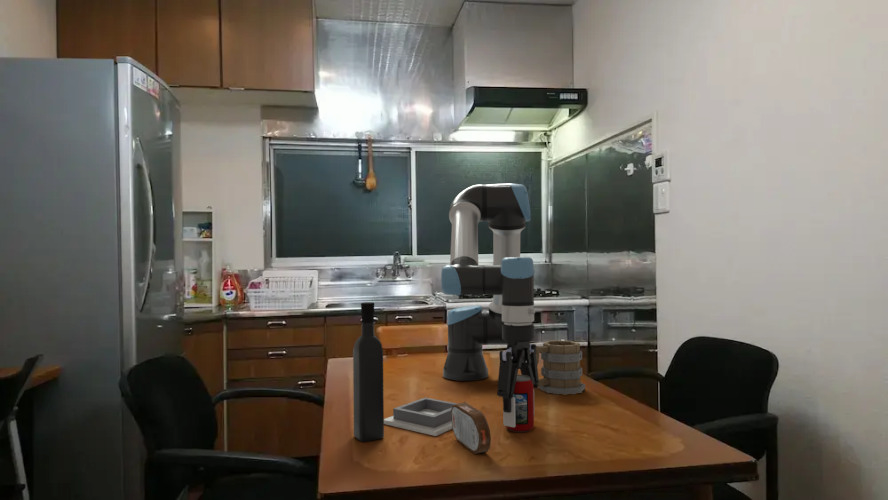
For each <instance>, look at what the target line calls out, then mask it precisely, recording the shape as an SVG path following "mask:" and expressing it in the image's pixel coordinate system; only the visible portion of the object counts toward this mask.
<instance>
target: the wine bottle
mask: <svg viewBox="0 0 888 500" xmlns="http://www.w3.org/2000/svg"><path fill="white" fill-rule="evenodd" d="M360 313H361V335H360V336H359V337H357V339H355V342H354V345H353V349H352V350H353V351H352V363H353V364H352V366H353V367H352V370H353V373H352V374H353V377H352V383H353V384H352V386H353V387H352V388H353V394H352V395H353V399H352V400H353V436H354V437H355V438H356V439H357V440H358V441H360V442H362V443H365V442H371V441H376V440H377V441H378V440H382V439H384V437H385V426H384V425H385V424H384V419H385V416H384V411H385V410H384V408H385V407H384V405H385V403H384V348H383V345H382V344H383V343H382V342H381V341H380V339H379V338H378V337H377V336H376V334H375V302H370V301H369V302H368V301H367V302H360Z"/></svg>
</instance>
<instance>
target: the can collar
mask: <svg viewBox="0 0 888 500" xmlns="http://www.w3.org/2000/svg"><path fill="white" fill-rule="evenodd" d="M455 404H459V403H457V402H452V401H445V400H440V399H435V398H429V397H423V398H420V399H417V400H413V401H411V402H408V403H406V404H402V405H399V406H397V407H394V408H393V410H392V411H393V412H392V413H393V415H391V416H389V417H385V418H384V425H388V426H391V427H396V428H399V429H403V430H408V431H413V432H417V433H421V434H425V435H430V436H433V437H437V436H439V435H442V434H444V433H446V432H449V431H450V430H453V429H452V419H451V408H452V406H453V405H455Z"/></svg>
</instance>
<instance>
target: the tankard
mask: <svg viewBox="0 0 888 500" xmlns="http://www.w3.org/2000/svg"><path fill="white" fill-rule="evenodd" d="M529 343H530V344H532V342H529ZM540 359H541V360H542V361H543V362H542V365H543V366H541V369H540V372H541V373H540V375H541V376H543V378H539V383H538V389H539V390H541V391H542V390H543V391H542V392H544V391H545V392H544V393H546V392H547V393H546V394H549V393H553V394H552V395H559V394H565V395H564V396H568V395H567V394H572V395H577V394H576V393H581V394H582V393H583V392H584V391H585V390H586V384H585V383H583V382H581V377H582V376H583V367H581V361H582V360H583V351H582V350H581V344H580V342H577V341H573V340H547V341H545V342H543V343H542V346H538V345H536V360H537V366H538V365H539V362H540ZM584 389H585V390H584ZM583 390H584V391H583ZM582 391H583V392H582Z"/></svg>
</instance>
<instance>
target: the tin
mask: <svg viewBox="0 0 888 500" xmlns="http://www.w3.org/2000/svg"><path fill="white" fill-rule="evenodd" d="M451 419H452V429H451V430H452V432H453V435H454V437H455V439H456V440H457V442H459V443H460V444H462V446H464V447H465V448H466V449H468V451H470V452H471V453H472V454H476V455H477V454H481V453H488V452H489V450H490V449H491V444H492V438H491V437H492V436H491V430H490V426H489V423H488V420H487V418H486V416H485V415H484V413H483V412H482V411H481V410H479V409H478V408H476V407H474V406H473V405H471V404H469V403H468V402H467V401H463V402H460V403H458V404H455V405H453V406H452V408H451Z"/></svg>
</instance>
